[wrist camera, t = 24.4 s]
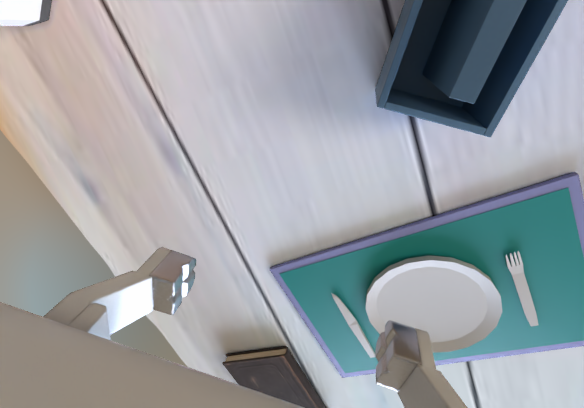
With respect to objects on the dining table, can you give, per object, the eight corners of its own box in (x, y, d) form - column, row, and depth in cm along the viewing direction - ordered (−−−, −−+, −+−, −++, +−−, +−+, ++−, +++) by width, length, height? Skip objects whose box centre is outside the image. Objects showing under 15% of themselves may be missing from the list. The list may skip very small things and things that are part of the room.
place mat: (574, 172, 39) (585, 179, 37) (609, 338, 49) (619, 350, 47) (270, 267, 57) (267, 275, 55) (342, 374, 67) (341, 384, 65)
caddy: (463, 113, 38) (511, 156, 25) (374, 89, 39) (377, 119, 26) (533, -27, 31) (648, -65, 18) (422, -52, 32) (459, -106, 19)
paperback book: (271, 414, 80) (269, 424, 78) (226, 354, 72) (222, 363, 70) (330, 411, 74) (329, 422, 72) (288, 345, 66) (285, 355, 64)
